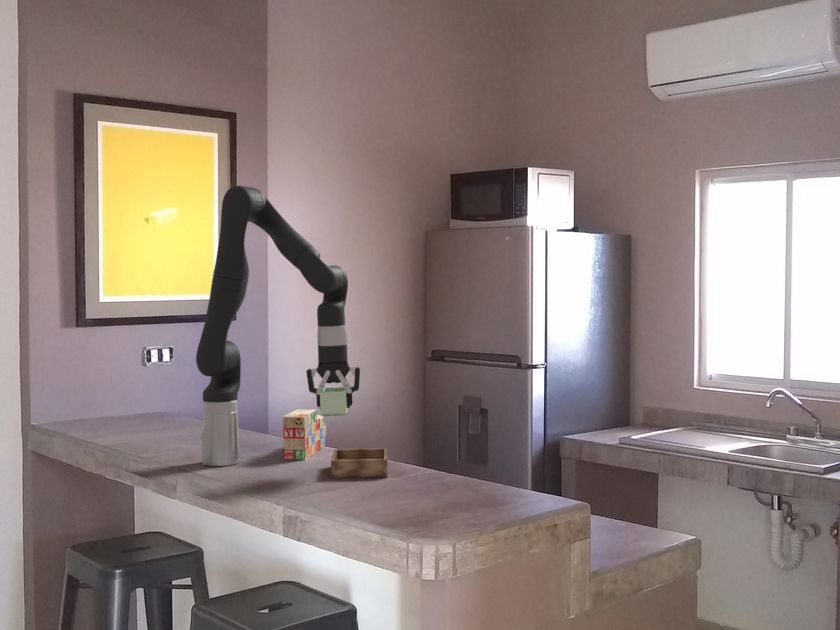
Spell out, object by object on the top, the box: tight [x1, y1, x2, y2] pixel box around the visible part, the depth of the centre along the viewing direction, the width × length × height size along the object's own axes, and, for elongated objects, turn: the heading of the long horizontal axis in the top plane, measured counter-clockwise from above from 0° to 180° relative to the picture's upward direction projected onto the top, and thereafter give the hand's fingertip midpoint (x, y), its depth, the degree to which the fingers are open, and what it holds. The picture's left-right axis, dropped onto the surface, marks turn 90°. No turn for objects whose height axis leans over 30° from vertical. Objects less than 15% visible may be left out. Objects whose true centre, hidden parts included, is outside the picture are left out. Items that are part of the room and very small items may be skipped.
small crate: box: [319, 386, 350, 417], centre depth 244 cm, size 6×10×6 cm, turn 1°
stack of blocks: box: [282, 409, 327, 461], centre depth 271 cm, size 21×6×12 cm, turn 170°
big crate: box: [330, 447, 389, 479], centre depth 245 cm, size 14×15×4 cm
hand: (335, 408), depth 244 cm, fingers closed on small crate, 6 cm apart
